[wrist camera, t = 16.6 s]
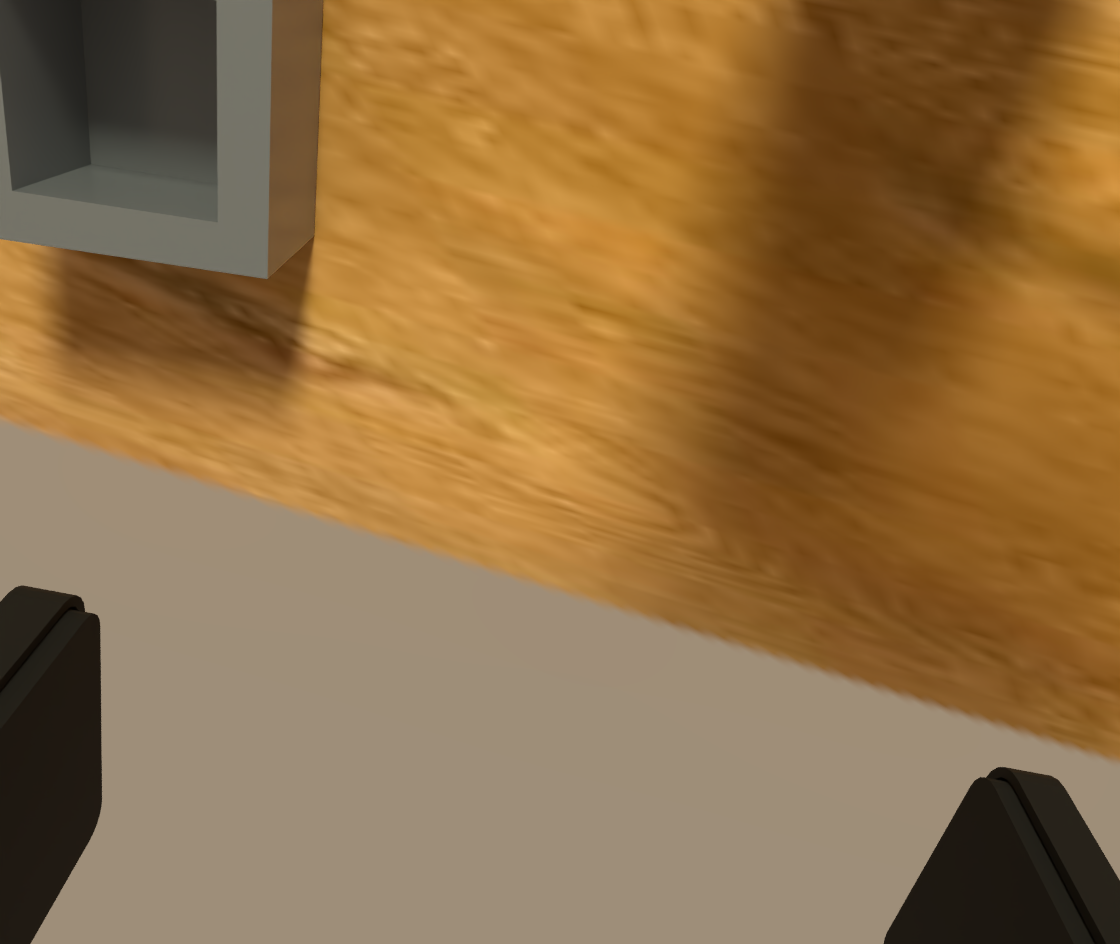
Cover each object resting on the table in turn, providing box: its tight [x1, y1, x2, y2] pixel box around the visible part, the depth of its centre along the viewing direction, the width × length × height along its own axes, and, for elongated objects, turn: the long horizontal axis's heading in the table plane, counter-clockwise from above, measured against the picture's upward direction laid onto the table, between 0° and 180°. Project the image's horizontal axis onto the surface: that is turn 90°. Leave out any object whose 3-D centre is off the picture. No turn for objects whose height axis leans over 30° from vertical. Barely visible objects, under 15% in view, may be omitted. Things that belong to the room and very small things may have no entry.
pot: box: [0, 0, 323, 279], centre depth 30 cm, size 9×9×6 cm
